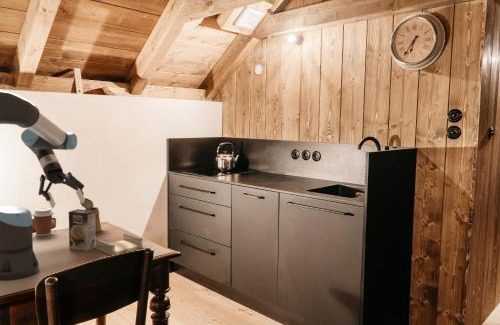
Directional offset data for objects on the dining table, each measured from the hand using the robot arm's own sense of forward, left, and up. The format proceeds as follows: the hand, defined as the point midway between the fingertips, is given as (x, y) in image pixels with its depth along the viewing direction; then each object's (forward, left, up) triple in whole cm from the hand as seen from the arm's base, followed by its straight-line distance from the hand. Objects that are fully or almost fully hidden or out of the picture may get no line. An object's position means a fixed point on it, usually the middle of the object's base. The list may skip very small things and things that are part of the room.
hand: (69, 203), depth 187 cm
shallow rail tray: (+10, -23, -18) cm, 31 cm away
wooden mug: (+16, +10, -18) cm, 26 cm away
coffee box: (0, -11, -18) cm, 21 cm away
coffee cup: (-1, +22, -18) cm, 28 cm away
